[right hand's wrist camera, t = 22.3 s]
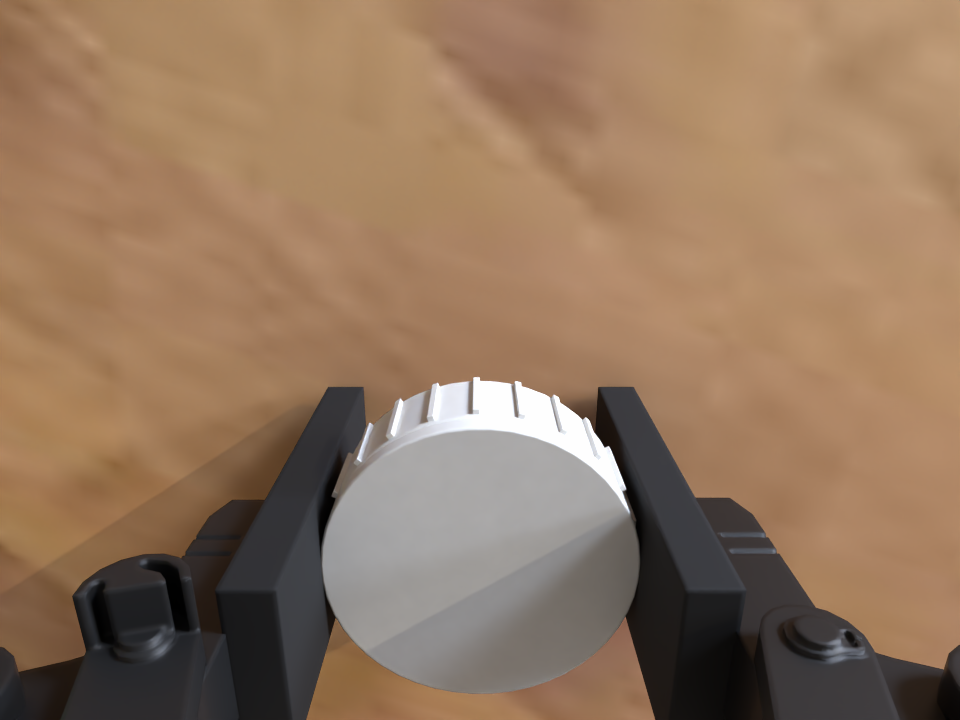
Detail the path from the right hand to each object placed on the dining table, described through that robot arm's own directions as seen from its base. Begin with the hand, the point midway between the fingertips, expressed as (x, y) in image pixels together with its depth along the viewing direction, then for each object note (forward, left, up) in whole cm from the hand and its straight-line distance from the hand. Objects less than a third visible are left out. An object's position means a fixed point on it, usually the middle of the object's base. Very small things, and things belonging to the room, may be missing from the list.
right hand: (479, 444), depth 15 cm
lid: (0, 0, +4) cm, 4 cm away
